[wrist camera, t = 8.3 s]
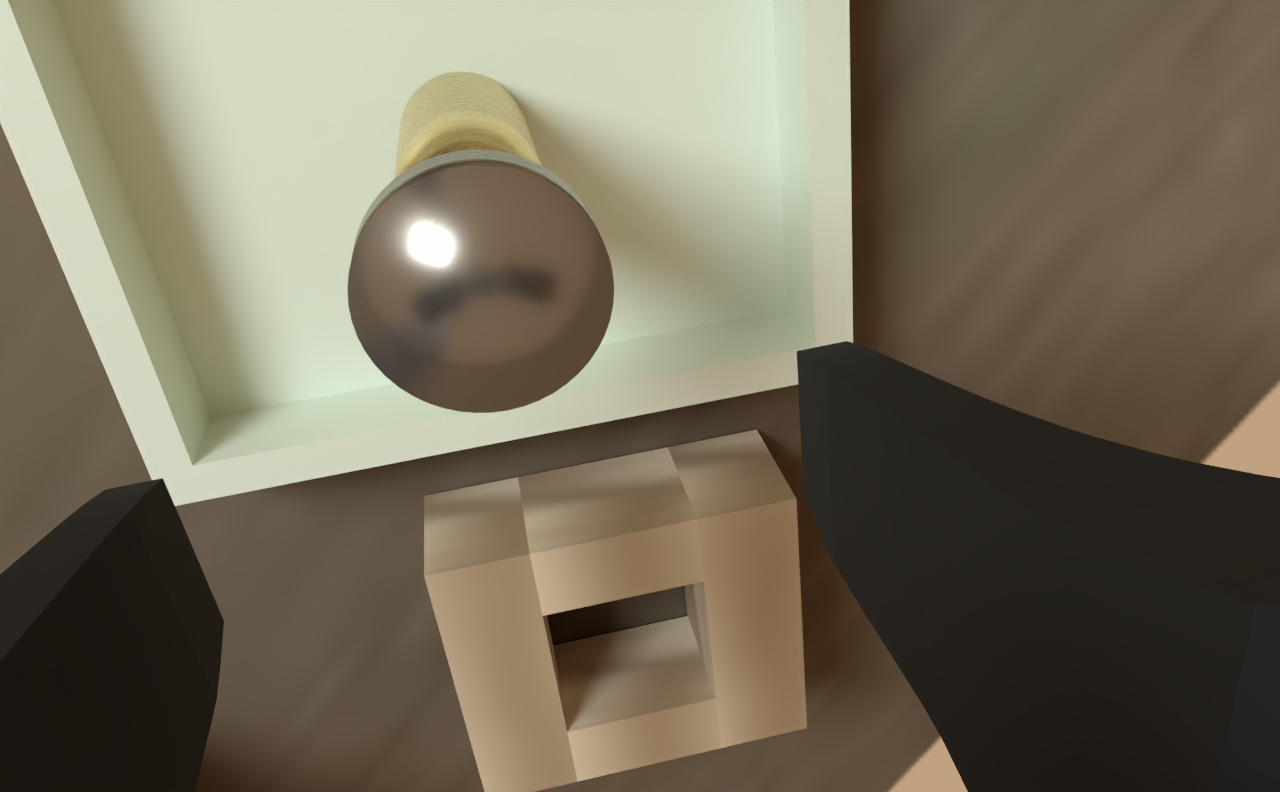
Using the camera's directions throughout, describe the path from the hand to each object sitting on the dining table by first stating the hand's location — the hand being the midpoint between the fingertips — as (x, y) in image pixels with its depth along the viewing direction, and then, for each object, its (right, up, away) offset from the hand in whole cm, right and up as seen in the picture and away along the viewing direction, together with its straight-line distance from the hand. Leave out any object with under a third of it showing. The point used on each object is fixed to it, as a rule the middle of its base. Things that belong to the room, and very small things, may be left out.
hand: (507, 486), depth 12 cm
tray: (-2, +7, +8) cm, 10 cm away
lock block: (+1, -4, +14) cm, 14 cm away
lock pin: (-2, +6, +8) cm, 10 cm away
